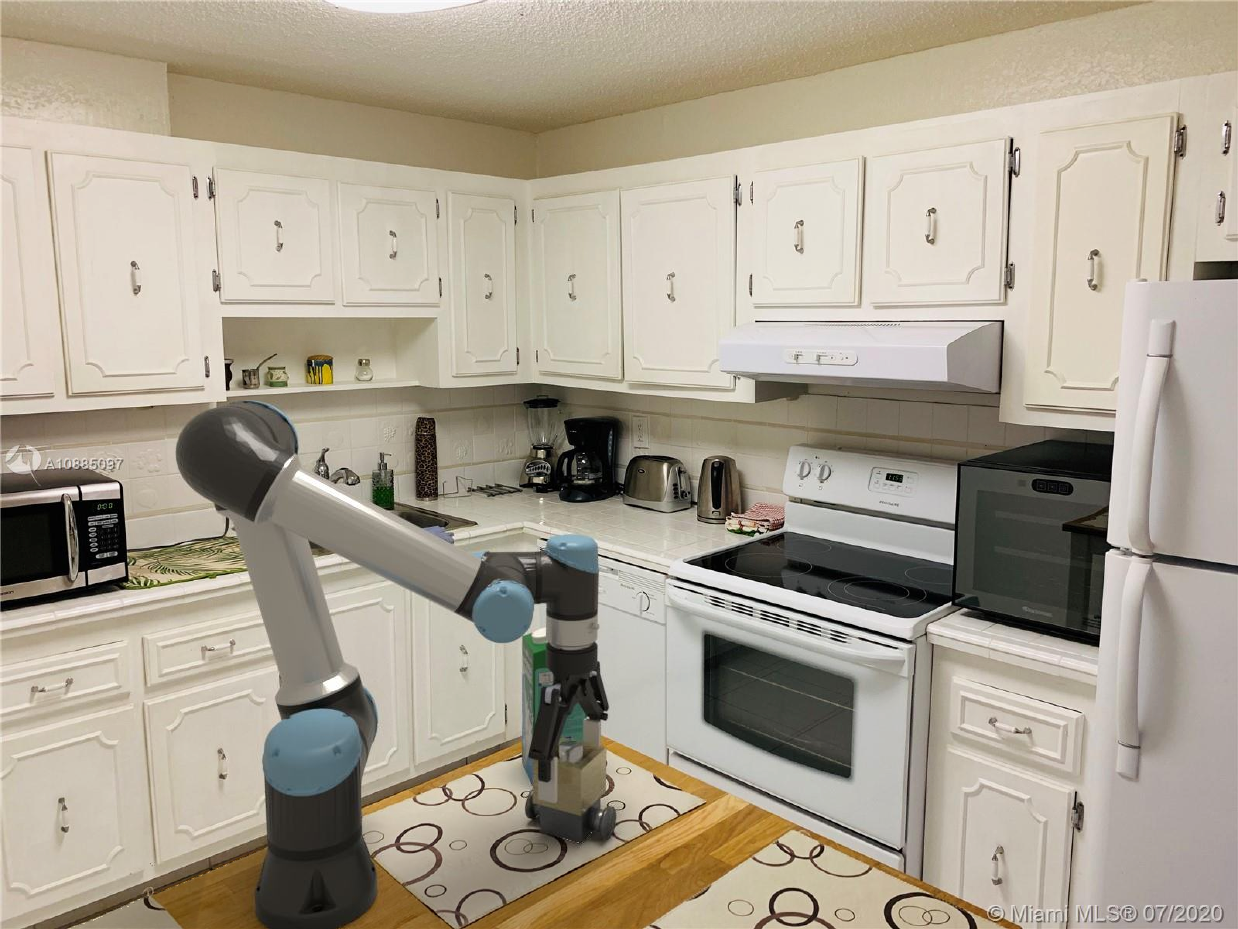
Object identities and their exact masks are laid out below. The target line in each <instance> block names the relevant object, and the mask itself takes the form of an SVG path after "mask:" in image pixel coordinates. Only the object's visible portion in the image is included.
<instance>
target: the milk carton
mask: <svg viewBox="0 0 1238 929" xmlns="http://www.w3.org/2000/svg"><path fill="white" fill-rule="evenodd" d="M521 640H522V641H521V654H522V655H521V657H522V658H521V662H522V663H521V665H522V666H521V679H522V680H521V684H522V685H521V695H522V696H521V702H522V703H521V726H522V727H521V729H522V730H521V762H522V764H523V767H524V769H525V772H526V774H527V776H528V778H529V781H530V783H531V785H532V786H533V759H531V758H529V757H528V754H529V749H530V745H531V741H532V736H533V732H534V727H535V723H536V719H537V714H538V710H539V706H540V696H541V688H542V687H543V686H545V687H552V685H553V680H554V675H553V673H552V672H551V671H550V670H548V668H547V667H546V644H547V643H548V641H547V640H546V626H545V627H541V628H538V629H537V630H533V632H530V633H528V634H524V635H523V636H522V637H521ZM559 705H560V704H559ZM560 706H562V705H560ZM564 707H565V706H564ZM585 718H587V719H588V717H587V716H586V714H585V713H584V711H583V709H582V708H581V706H580V704H579V703H577V704H576V705H575V706H574V708H573V711H572V713H571V714H570V715H568V716H567V719H566V722H565V725H564V728H563V731H562V734H561V737H564V738H568V739H573V740H577V741H581V742H583V720H584V719H585Z"/></svg>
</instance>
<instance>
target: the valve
mask: <svg viewBox="0 0 1238 929" xmlns="http://www.w3.org/2000/svg"><path fill="white" fill-rule="evenodd" d="M559 760H563V761H567V762H571V763H575V764H578V763H580V762H581V761H582V760H583V745H582V744H581V743H580V742H577V741H565V742H562V743H561V744H560V745H559ZM601 797H602V796H601ZM601 797H600V798H599V799H597V800H596V801H595V802H594V803H593V804H592V805H591V806H590V807H589V808H588V809H587V810H586V811H585V812H584V813H583V814H582V815H581V816H580V815H576V814H572V813H569V812H565V811H561V810H558V809H554V808H550V807H547V806H543V805H539V804H535V803H533V788H532V789H531V790H530V791H529V793H528V795H527V797H526V801H525V806H524V812H525V813H524V814H525V816H526V818H528V819H530V820H535V819H536V818H537V817H539V833H542V834H545V835H548V834H549V836H552V835H554V836H553V837H555V836H557V837H556V838H559V837H560V838H559V839H562V838H565V839H564V840H566V839H568V840H567V841H569V840H571V841H570V842H573V841H574V842H573V843H576V842H579V843H578V844H580V843H582V842H583V841H584V840H585V839H586V838H587V837H588V836H589V835H590V834H591V832H593V831H594V832H596V833H598V835H599V838H600V839H601V840H608V839H609V838H611V836H612V835H613V833H614V830H615V826H616V824H617V810H616V808H615V807H614V806H612V805H607V806H606V807H605V808H604V809H603V808H601V805H602V803H601V801H602V800H601ZM594 832H593V833H594ZM591 835H592V834H591ZM591 835H590V836H591ZM590 836H589V837H590ZM589 837H588V838H589ZM588 838H587V839H588ZM587 839H586V840H587ZM586 840H585V841H586ZM585 841H584V842H585ZM584 842H583V843H584ZM583 843H582V844H583Z"/></svg>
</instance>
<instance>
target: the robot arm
mask: <svg viewBox="0 0 1238 929" xmlns="http://www.w3.org/2000/svg"><path fill="white" fill-rule="evenodd" d="M299 447H300V446H299V437H298V433H297V430H296V428H295V425H294V424H293V422H292V420H291V419H290V418H289V416H287V415H286V414H285V413H284V412H283V411H281V410H280V409H279V408H277V407H276V406H274V405H272V404H269V403H267V402H264V401H256V400H249V399H246V400H237V401H233V402H230V403H227V404H224V405H221V406H218V407H217V406H216V407H213V408H210V409H206V410H204V411H202V412H199V413H198V414H197V415H195V416H194V417H193V418H192V419H190V420H189V421H188V422H187V423H186V425H185V426H184V427H183V428H182V430H181V432H180V433H179V436H178V438H177V441H176V446H175V461H176V466H177V469H178V471H179V472H180V476H182V479H183V480H184V482H186V484H187V485H188V486H189V487H190V488H191V489H192V490H193V491H194V492H196V493H197V494H199V495H200V496H201V497H202V498H204V499H207V500H208V501H210V502H211V503H213V505H214V507H215V510H216V513H218V514H219V515H221V516H223V517H225V518H228V519H229V520H231V522H232V524H233V528H234V531H235V535H236V537H237V541H238V544H239V547H240V550H241V554H242V557H243V560H244V563H245V565H246V570H247V572H248V576H249V579H250V583H251V586H252V589H253V592H254V596H255V598H256V599H255V600H256V602H257V605H258V608H259V611H260V615H261V618H262V621H263V622H262V623H263V625H264V628H265V631H266V635H267V638H268V642H269V645H270V647H271V651H272V654H273V657H274V661H275V663H276V664H275V665H276V667H277V670H278V673H279V676H280V680H281V685H280V687H279V689H278V690H277V691H276V694H275V696H274V701H275V703H276V706H277V711H278V713H279V717H280V721H279V722H278V723H276V724H275V725H274V726H273V727H272V728H271V729H270V731H269V732H268V733H267V736H266V737H265V741H264V746H263V754H262V758H261V759H262V760H261V761H262V762H261V764H262V772H263V776H264V777H263V780H264V800H265V821H266V842H267V845H266V846H267V847H266V848H267V850H266V853H265V856H264V860H263V863H262V867H261V871H260V874H259V875H260V876H259V879H258V881H257V883H256V887H255V888H254V889H255V890H254V912H255V913H254V914H255V915H256V918H257V919H258V921H259V923H260V924H262V925H263V926H264V927H265V928H267V929H336V928H340V927H342V926H345V925H346V924H349V923H350V922H352V921H354V920H356V919H357V918H359V917H360V916H362V915H363V914H365V912H366V911H367V910H368V909H369V908H370V907H371V906H372V905H373V903H374V902H375V899H376V897H377V894H378V872H377V868H376V866H375V863H374V861H373V860H372V858H371V853H370V851H369V848H368V846H367V843H366V840H365V838H364V835H363V808H362V807H363V806H362V803H363V802H362V781H363V776H364V772H365V769H366V765H367V762H368V759H369V755H370V752H371V749H372V745H373V744H374V742H375V739H376V735H377V732H378V728H379V727H378V726H379V725H378V724H379V715H378V709H377V705H376V704H377V703H376V701H375V698H374V697H373V695H372V694H371V692H370V691H369V690H368V688H367V687H366V686H365V685H363V683H362V679H361V676H360V673H359V670H358V668H357V667H356V666H354V665H352V664H351V663H350V664H349V663H347V662H345V661H344V658H343V654H342V653H343V652H342V650H341V647H340V644H339V643H340V642H339V641H338V637H337V634H336V630H335V627H334V624H333V621H332V619H333V618H332V617H331V613H330V610H329V607H328V603H327V599H326V596H325V592H324V589H323V586H322V582H321V579H320V576H319V572H318V569H317V566H316V563H315V559H314V556H313V551H312V549H311V545H310V542H312V543H313V544H316V545H318V546H319V547H322V548H323V549H326V550H327V551H330V552H332V553H333V554H335V555H338V556H340V557H341V558H344V559H345V560H348V561H350V562H352V563H353V564H356V565H357V566H360V567H362V568H364V569H366V570H368V571H370V572H372V573H373V574H376V575H378V576H380V577H382V578H384V579H386V580H388V581H390V582H391V583H394V584H396V585H398V586H400V587H402V588H405V589H406V590H408V591H410V592H411V593H414V594H416V595H418V596H420V597H422V598H424V599H426V600H428V601H430V602H432V603H433V604H436V605H438V606H440V607H442V608H444V609H445V610H449V611H450V612H452V613H454V614H456V615H458V616H460V617H462V618H464V619H466V620H467V621H470V622H472V623H473V625H474V627H475V628H476V630H477V631H478V633H480V635H481V636H482V637H483V638H485V639H486V640H488V641H490V642H492V643H497V644H509V643H512V642H515V641H517V640H519V639H520V638H522V636H524V635H526V633H527V632H528V630H529V629H530V628H531V625H532V622H533V618H534V611H535V605H541V604H545V607H546V608H545V613H546V614H545V616H546V617H545V619H546V620H545V627H546V640H547V641H548V643H547V644H546V667H547V668H548V670H550V671H551V672H552V673H553V675H554V680H553V685H552V687H545V686H543V687H542V688H541V696H540V706H539V710H538V714H537V719H536V723H535V727H534V732H533V736H532V741H531V745H530V749H529V754H528V757H529V758H531V759H535V760H538V799H540V800H544V801H547V802H551V803H556V802H557V759H558V758H557V757H554V755H555V752H556V749H557V746H558V743H559V740H560V737H561V734H562V731H563V728H564V725H565V722H566V719H567V716H568V715H570V714H571V713H572V711H573V708H574V706H575V705H576V704H577V703H579V704H580V706H581V708H582V709H583V711H584V713H585V714H586V716H587V718H585V719H584V720H583V742H586V743H590V744H594V745H599V746H602V721H605V722H607V721H608V719H609V713H608V711H609V709H610V707H609V706H610V705H609V701H608V696H607V694H606V690H605V685H604V682H603V679H602V675H601V663H600V661H598V655H599V654H598V653H599V652H598V650H599V648H598V643H597V642H596V641H597V640H598V630H599V629H600V624H599V623H598V620H599V619H598V618H599V614H598V613H599V585H600V582H599V581H600V579H599V577H600V576H599V574H600V568H599V546H598V545H599V544H598V543H597V541H595V539H594V538H592V537H591V536H588V535H583V534H577V533H576V534H574V533H564V534H562V535H561V534H557V535H552V536H550V537H549V538H548V539H547V541H546V545H545V547H544V550H539V551H489V550H485V551H482V552H468V551H466V550H464V549H462V548H461V547H458V546H457V545H455V544H453V543H450V542H448V541H446V539H445V540H444V539H443V538H442V537H441V538H440V537H439V536H437V535H436V534H433V533H431V532H429V531H427V530H425V529H423V528H422V527H420V526H417V525H416V524H413V523H411V522H410V521H408V520H406V519H404V518H402V517H400V516H398V515H397V514H394V513H392V512H391V511H388V510H387V509H384V508H383V507H381V506H379V505H376V504H375V503H373V502H371V501H369V500H368V499H365V498H364V497H362V496H360V495H357V494H355V493H354V492H352V491H350V490H347V489H346V488H344V487H342V486H340V485H338V484H336V483H334V482H332V481H331V480H329V479H327V478H324V477H323V476H321V475H319V474H317V473H315V472H313V471H311V470H309V469H307V468H305V467H304V466H303V465H302V463H301V460H300V457H299V455H298V454H299ZM559 704H560V705H562V706H560V705H559ZM564 706H565V707H564Z"/></svg>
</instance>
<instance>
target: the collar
mask: <svg viewBox="0 0 1238 929" xmlns="http://www.w3.org/2000/svg"><path fill="white" fill-rule="evenodd" d="M565 741H577V740H573V739H568V738H564V737H560V740H559V743H558V746H557V749H556V752H555V755H554V757H557V758H558V759H557V802H556V803H551V802H547V801H544V800H540V799H538V760H535V759H533V785H532V789H533V803H535V804H539V805H543V806H547V807H550V808H554V809H558V810H561V811H565V812H569V813H572V814H576V815H580V816H581V815H582V814H583V813H584V812H585V811H586V810H587V809H588V808H589V807H590V806H591V805H592V804H593V803H594V802H595V801H596V800H597V799H599V798H600V797H602V796H603V794H605V793H606V791H607V746H603V745H601V746H599V745H594V744H590V743H586V742H581V741H577V742H580V743H581V744H582V745H583V760H582V761H581V762H580V763H578V764H575V763H571V762H567V761H563V760H559V745H560V744H561V743H562V742H565Z"/></svg>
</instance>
